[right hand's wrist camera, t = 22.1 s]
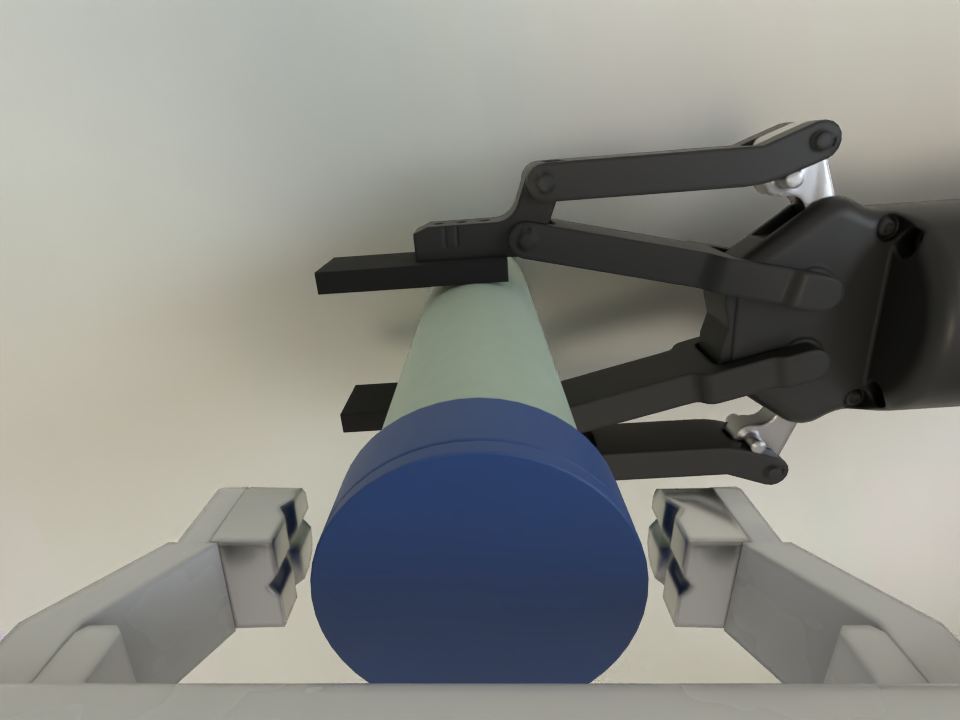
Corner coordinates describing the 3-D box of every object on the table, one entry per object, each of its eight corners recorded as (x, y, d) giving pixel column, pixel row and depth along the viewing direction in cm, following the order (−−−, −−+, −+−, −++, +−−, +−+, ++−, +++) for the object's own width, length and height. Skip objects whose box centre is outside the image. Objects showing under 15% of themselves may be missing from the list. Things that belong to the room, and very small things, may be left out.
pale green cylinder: (539, 261, 26) (656, 484, 9) (508, 347, 28) (557, 678, 10) (447, 231, 26) (382, 407, 8) (421, 321, 27) (321, 623, 10)
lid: (589, 641, 11) (609, 728, 10) (333, 616, 11) (307, 702, 9) (650, 414, 9) (688, 473, 8) (343, 378, 9) (312, 432, 8)
